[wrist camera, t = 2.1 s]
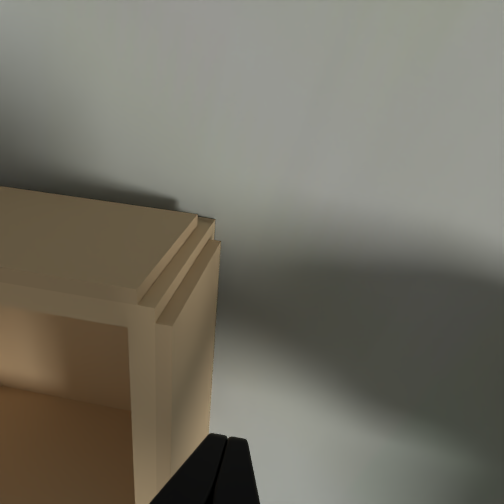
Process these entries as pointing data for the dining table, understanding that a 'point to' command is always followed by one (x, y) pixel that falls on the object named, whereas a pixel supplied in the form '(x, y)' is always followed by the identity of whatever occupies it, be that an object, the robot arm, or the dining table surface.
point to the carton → (101, 346)
